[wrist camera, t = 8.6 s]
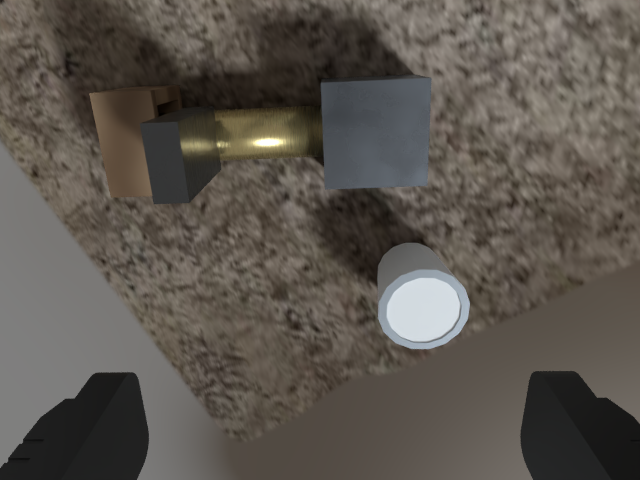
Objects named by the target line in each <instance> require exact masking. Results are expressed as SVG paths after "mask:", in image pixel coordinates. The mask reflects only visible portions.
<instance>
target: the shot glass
mask: <svg viewBox="0 0 640 480" xmlns="http://www.w3.org/2000/svg"><path fill="white" fill-rule="evenodd" d="M377 281H378V319H379V321H380V324H381V326H382V329H383V331H384V333H386V334H387V335H388V336H389V337H390V338H391V339H392V340H393V341H394V342H395V343H397V344H400V345H403V346H405V347H408V348H410V349H430V348H433V347H436V346H439V345H443V344H445V343H447V342H448V341H449V340H451V339H452V338H453V337H455V336H456V335H457V334H459V332H460V331H461V329H462V328H463V326H464V324H465V323H466V321H467V319H468V313H469V306H470V302H469V299H468V296H467V293H466V290H465V288H464V287H463V286H462V284H461V283H460V282H459V281H458V280H457V278H456V277H455V276H454V275H453V274H452V273H451V271H450V270H449V269H448V268H447V267H446V266H445V264H444V263H443V262H442V261H441V260H440V258H439V257H438V256H437V255H436V254H435V253H434V252H433V251H432V250H431V249H430V248H429V247H427V246H424V245H422V244H419V243H403V244H400V245H397V246H395V247H392V248H391V249H390V250H389V251H388V252H387V253H386V254H384V255H383V257H382V259H381V261H380V263H379V265H378V276H377Z"/></svg>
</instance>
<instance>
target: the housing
mask: <svg viewBox="0 0 640 480" xmlns="http://www.w3.org/2000/svg"><path fill="white" fill-rule="evenodd" d="M430 99H431V78H429V77H425V76H420V75H415V74H412V75H390V76H368V77H345V78H323V79H322V80H321V101H322V125H323V150H324V175H325V189H351V188H378V187H404V186H427V177H428V151H429V125H430Z"/></svg>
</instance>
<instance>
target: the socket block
mask: <svg viewBox="0 0 640 480" xmlns="http://www.w3.org/2000/svg"><path fill="white" fill-rule="evenodd" d="M89 95H90V99H91V104H92V109H93V114H94V119H95V123H96V128H97V133H98V138H99V143H100V147H101V152H102V157H103V162H104V167H105V171H106V176H107V181H108V186H109V191H110V195H111V198H112V197H138V196H152V191H151V185H150V180H149V174H148V168H147V162H146V157H145V151H144V145H143V140H142V134H141V128H140V123H142V122H145V121H148V120H151V119H154V118H157V117H159V115H158V113H161V112H174V111H176V110H179V109H182V108H183V107H182V100H181V93H180V86H179V85H167V86H145V87H127V88H120V89H113V90H107V91H100V92H94V93H89Z"/></svg>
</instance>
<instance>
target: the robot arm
mask: <svg viewBox="0 0 640 480" xmlns="http://www.w3.org/2000/svg"><path fill="white" fill-rule="evenodd" d="M148 444H149V433H148V426H147V421H146V416H145V410H144V405H143V400H142V395H141V390H140V385H139V380H138V377H137V376H136V374H135V373H132V372H131V373H130V372H127V373H126V372H125V373H124V372H122V373H95V374H93V375H92V376H91V377H90V378H89V380H88V381H87V383H86V384H85V385H84V387H83V388H82V389H81V391H80V392H79V393H78V395H77V396H76V397H75V399H65V400H63V401H62V402H61V403H59V404H58V405H57V406H55V407H54V408H53V409H51V410H50V411H49V412H47V413H46V414H44V415H43V416H42V417H41V418H40V419H39V420H38V421H37V423H36V424H35V425H34V426H33V428H32V429H31V430H30V431H29V433H28V434H27V435H26V436H25V438H24V439H23V443H22V444H19V445H18V447H17V448H16V449H15V450H14V452H13V453H12V454H11V455H10V457H9V458H8V462H7V463H4V464H3V466H2V467H1V468H0V480H137V478H138V476H139V474H140V472H141V469H142V467H143V465H144V462H145V459H146V456H147V450H148ZM521 448H522V453H523V457H524V460H525V463H526V465H527V468H528V470H529V472H530V474H531V476H532V478H533V480H640V424H639V423H638V422H637V420H636V419H635V418H634V417H633V416H632V415H630V414H629V413H627V412H626V411H625V410H623V409H622V408H620V407H619V406H618V405H616V404H615V403H613V402H612V401H611V400H609V399H608V398H597V397H596V396H595V395H594V393H593V392H592V391H591V389H590V388H589V387H588V386H587V384H586V383H585V382H584V380H583V379H582V378H581V377H580V376H579V374H577V373H576V372H574V371H536V372H533V373H532V375H531V377H530V380H529V386H528V392H527V398H526V404H525V409H524V415H523V421H522V427H521Z"/></svg>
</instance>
